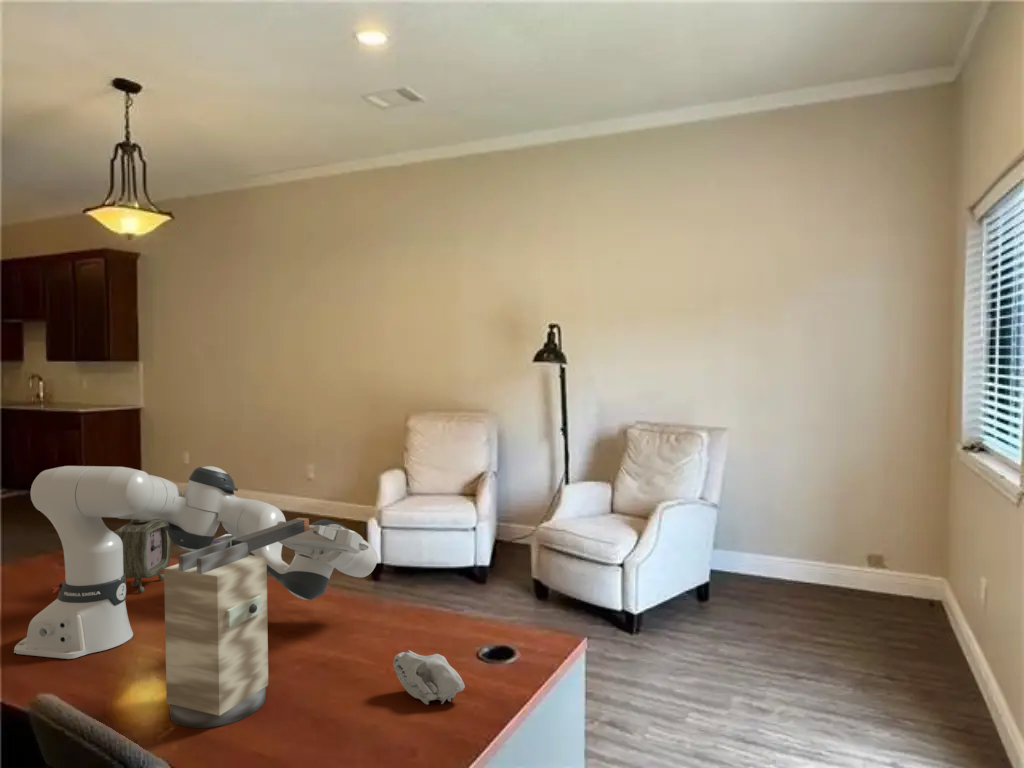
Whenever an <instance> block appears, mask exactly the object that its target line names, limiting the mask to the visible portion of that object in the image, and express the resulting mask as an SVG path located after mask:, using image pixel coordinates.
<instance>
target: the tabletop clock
mask: <svg viewBox="0 0 1024 768" xmlns="http://www.w3.org/2000/svg"><path fill="white" fill-rule="evenodd" d="M164 526H169V524H168V521H165V520H159V519H156V520H135V519H130V522H128V523H126V524H124V525H123V526H121V527H119V528H118V529H116V530H114V531H113V532H114V533H115V534H117V535H118V536H119V537H120V538H121V540H122V543H123V571H124V573H125V574H126V579H133V580H132V582H131V583H130V584H131V587H132V588H133V587H134V588H135V586H136V587H137V586H138V588H137V592H138V593H139V594H143V593H144V591H145V588H144V586H143V585H142V579H151V578H153V577H155V576H158V580H159V581H164V573H162V572H164V568H167V567H169V564H170V561H171V551H172V550H171V544H172V541H171V539H170V537H169V535H168V531H167V530H165V529H164Z"/></svg>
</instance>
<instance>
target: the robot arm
mask: <svg viewBox="0 0 1024 768" xmlns="http://www.w3.org/2000/svg"><path fill="white" fill-rule="evenodd" d="M188 480H189V481H188V482H187V485H186V487H185V489H184V491H183V492H182V490H181V488H180V487H179V486H178V484H176V483H174V482H172V481H171V480H169V479H167V478H163V477H161V476H159V475H157V476H156V475H152V474H149V473H148V472H147V471H144V470H139V469H135V468H132V467H126V466H106V465H105V466H102V465H101V466H100V465H99V466H98V465H97V466H95V465H92V466H91V465H86V466H85V465H64V466H58V467H54V468H49V469H45V470H42V471H41V472H39V474H38V475H37V476H36V477H35V479H34V480H33V481H32V484H31V488H30V501H31V502H32V504H33V507H35V509H36V510H37V511H40V513H42V514H43V515H44V516H45V517H46V518H47V519H48V520H49V521H50V523H51V524H52V525H53V527H54V529H55V530H56V532H57V534H58V537H59V539H60V541H61V545H62V549H63V559H64V571H65V574H64V575H65V577H64V579H65V580H63V581H62V582H61V583H59V584H58V585H56V586H54V587H52V589H54V590H53V592H52V593H57V592H58V596H57V598H56V599H54V601H52V602H50V604H49V605H47V606H46V607H45V608H43V609H42V610H41V611H39V612H38V613H37V614H36V615H35V616H34V617H33V618H32V619H31V620H30V622H29V624H28V628H27V633H26V637H25V638H23V639H22V640H20V641H19V642H18V643H16V645H15V646H14V649H13V654H15V653H16V654H17V655H25V656H36V657H45V658H54V659H66V660H71V659H72V660H73V659H77V658H79V657H83V656H85V655H89V654H94V653H97V652H98V653H99V652H102V651H103V652H104V651H107V650H109V649H110V650H111V649H113V648H116V647H118V646H120V645H123V644H125V643H127V642H128V641H130V640H131V639H132V638H133V637H134V632H133V630H132V627H131V623H130V620H129V616H128V610H127V605H126V604H127V602H126V598H127V578H126V574H125V573H124V571H123V543H122V540H121V538H120V537H119V536H118V535H117V534H115V533H114V531H112V530H111V529H109V527H108V526H106V524H105V522H104V520H103V519H102V518H117V519H119V520H121V519H122V520H132V519H135V520H165V521H168V524H169V526H164V529H165V530H167V531H168V535H169V537H170V539H171V543H173V544H174V545H175V546H178V547H179V548H181V549H182V550H185V551H188V552H192V551H195V550H198V549H201V548H204V547H207V546H210V545H212V544H213V540H214V539H216V537H215V534H216V533H217V530H218V528H219V527H220V523H221V526H222V527H223V528H224V531H227V533H228V534H231V535H233V536H234V537H236V538H239V537H242V536H245V535H248V534H251V533H254V532H257V531H260V530H263V529H266V528H269V527H272V526H275V525H278V524H281V523H284V522H287V520H286V517H285V515H284V513H283V511H282V510H281V509H280V508H278V507H276V506H275V505H273V504H272V503H271V504H270V503H268V502H265V501H261V500H258V499H253V498H251V499H250V498H245V497H244V498H243V497H238V496H236V495H235V492H238V491H239V489H238V487H235V482H234V480H233V478H232V477H231V476H230V473H227V472H226V471H225V470H224V469H222V468H220V467H217V466H212V465H210V466H209V465H207V466H199V467H196V468H195V469H193V471H192V472H191V474H190V476H189V478H188ZM283 546H285V547H286V548H289V549H291V550H294V554H295V555H294V557H293V559H292V560H291V563H290V564H288V563H287V562H286V561H284V560H283V558H282V550H283ZM249 555H253V556H260V557H267V573H268V574H269V575H270V576H271V577H273V578H274V579H275V580H276V581H278V582H279V583H280V584H281V585H282V586H283V587H284V588H285V589H287V590H288V592H289V593H291V594H292V595H293V596H294V597H297V598H298V599H302V600H306V601H313V600H315V599H316V598H319V597H320V596H322V595H324V594H325V592H326V590H327V587H328V584H329V581H330V577H331V575H332V573H333V571H334V569H336V570H338V571H339V572H341V573H343V574H345V575H347V576H350V577H354V578H365V577H367V576H369V575H370V574H371V573H372V572H373V571H374V569H375V568H376V566H377V562H378V553H377V550H376V549H375V548H374V547H373V546H372V544H370V543H369V542H368V541H366V540H365V539H364V538H363V536H362V535H360V534H359V533H358V532H356V531H354V530H351V528H348V527H347V526H344V525H343V524H342V523H339V522H336V521H333V520H329V519H327V518H326V519H325V518H324V519H320V520H317V521H314V522H312V523H310V524H309V531H306V532H303V533H300V534H297V535H295V536H292V537H289V538H286V539H284V540H281V541H278V542H275V543H273V544H270V545H267V546H264V547H262V548H259V549H256V550H253V551H251V552H249Z"/></svg>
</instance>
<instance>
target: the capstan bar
mask: <svg viewBox="0 0 1024 768" xmlns="http://www.w3.org/2000/svg"><path fill="white" fill-rule="evenodd" d="M309 519H310V518H307V517H297V518H294V519H291V520H288V521H286V522H284V523H281V524H278V525H275V526H272V527H269V528H266V529H263V530H260V531H257V532H254V533H251V534H248V535H245V536H242V537H239V538H236V539H233V540H231V544H232V546H234V545H237V544H240V543H243V542H244V543H248V553H250V552H251V551H253V550H256V549H259V548H262V547H264V546H267V545H270V544H273V543H275V542H278V541H281V540H284V539H286V538H289V537H292V536H295V535H297V534H300V533H303V532H306V531H309V525H310V520H309Z"/></svg>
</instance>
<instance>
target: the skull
mask: <svg viewBox="0 0 1024 768" xmlns="http://www.w3.org/2000/svg"><path fill="white" fill-rule="evenodd" d="M392 661H393V662H392V665H393V669H394V671H395V674H396V676H397V678H398V680H399V681H400V683H401V685H402V686H403V688H404V689H405V691H406V692H407V693H408V694H409V695H410V696H412V697H413V698H414V699H417V700H420V701H421V702H422V703H424V705H427V706H428V705H429V704H430V701H435V700H436V701H437V700H439V701H440V705H443V704H444V703H445V702H446V700H447V702H450V703H452V700H453V699H454V698H455V696H457V695H456V694H457V693H459V692H463V691H464V689H465V688H466V685H465V683H464V681H463V679H462V677H461V676H460V674H459V673H458V672H457V670H456V669H454V668H453V667H452V666H451V664H449V662H448V661H447V658H446V657H445V656H444V655H441V654H439V653H434V654H430V655H421V654H418V653H416V652H413V651H412V650H409V649H408V650H407V651H404V652H403V651H402V652H399V653H397V654H396V655H394V657H393V660H392Z"/></svg>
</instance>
